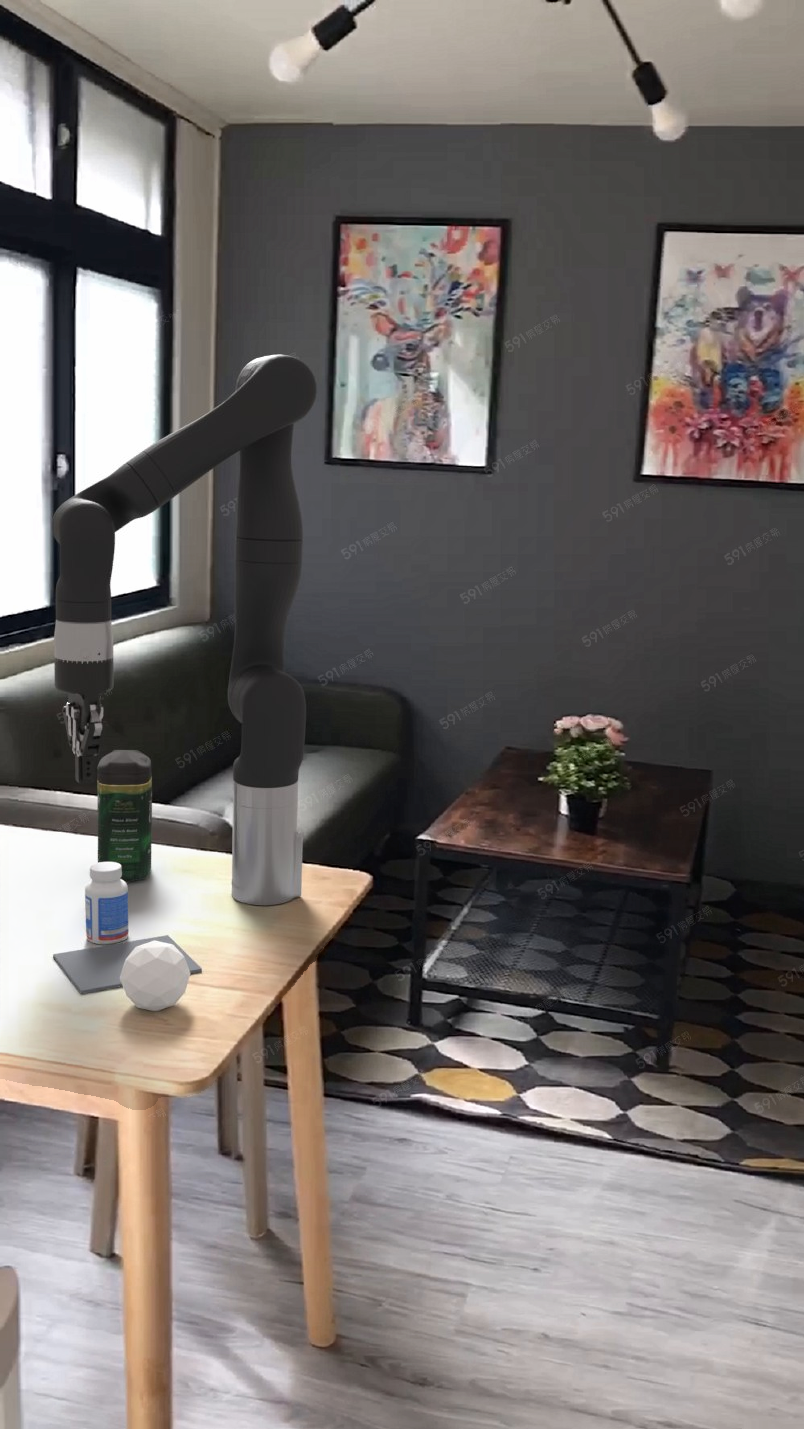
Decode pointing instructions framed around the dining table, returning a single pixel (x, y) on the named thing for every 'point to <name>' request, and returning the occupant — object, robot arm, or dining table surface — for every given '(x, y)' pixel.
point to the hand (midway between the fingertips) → (85, 782)
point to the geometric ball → (155, 975)
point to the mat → (106, 964)
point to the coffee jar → (125, 812)
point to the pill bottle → (106, 904)
